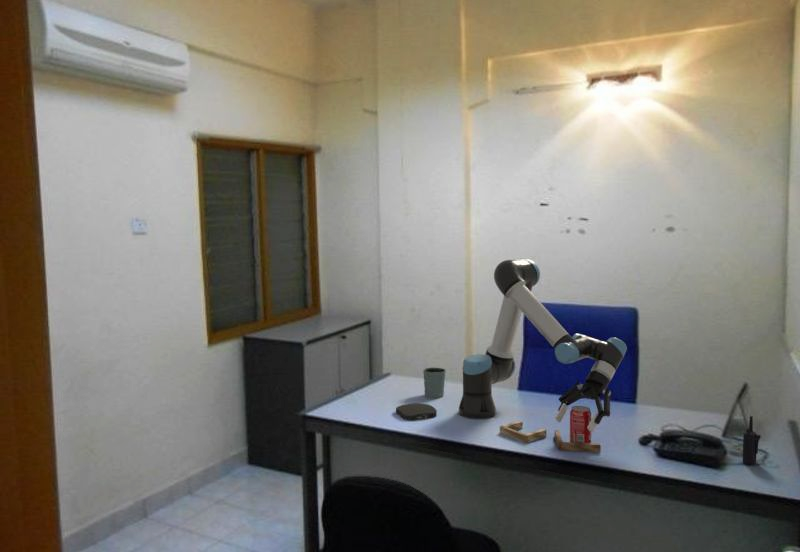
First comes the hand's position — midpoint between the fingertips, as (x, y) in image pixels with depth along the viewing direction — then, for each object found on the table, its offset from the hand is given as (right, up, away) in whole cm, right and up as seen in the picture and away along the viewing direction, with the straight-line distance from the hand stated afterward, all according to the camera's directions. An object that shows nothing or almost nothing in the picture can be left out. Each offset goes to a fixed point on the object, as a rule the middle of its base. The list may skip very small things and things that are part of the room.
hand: (573, 425), depth 209 cm
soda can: (+3, -7, +1) cm, 8 cm away
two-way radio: (+52, -8, -17) cm, 55 cm away
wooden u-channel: (-15, -6, +12) cm, 20 cm away
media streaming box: (-53, -5, +38) cm, 66 cm away
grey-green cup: (-44, -3, +65) cm, 79 cm away
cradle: (-1, -7, -1) cm, 7 cm away
